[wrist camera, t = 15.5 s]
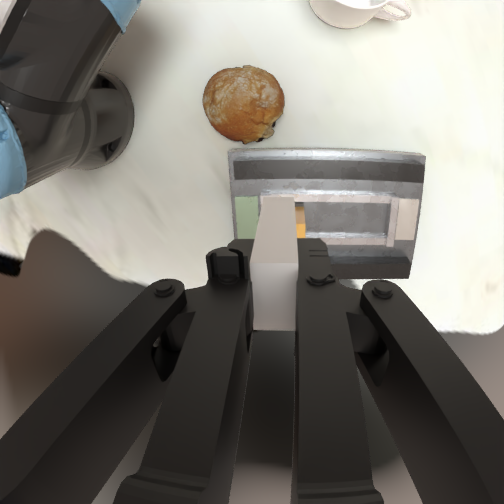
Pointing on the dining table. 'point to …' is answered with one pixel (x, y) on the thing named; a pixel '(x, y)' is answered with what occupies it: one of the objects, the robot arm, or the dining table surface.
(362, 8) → the mug
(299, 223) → the lever
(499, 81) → the dining table surface
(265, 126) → the bread roll
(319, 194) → the panel
